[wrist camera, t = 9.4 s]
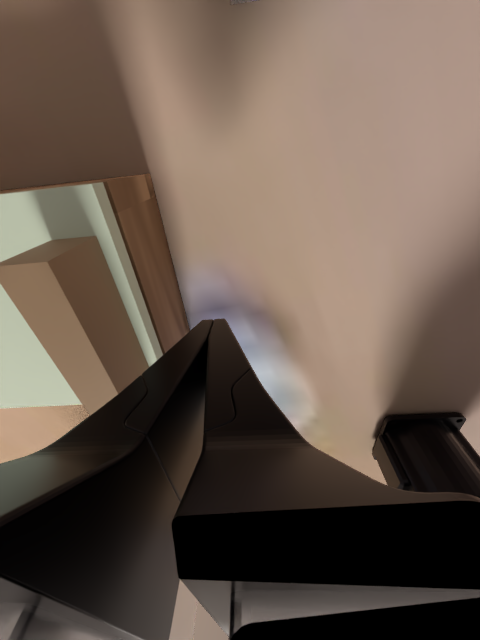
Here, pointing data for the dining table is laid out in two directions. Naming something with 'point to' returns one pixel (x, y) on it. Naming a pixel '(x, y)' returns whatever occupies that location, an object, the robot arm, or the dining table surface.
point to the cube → (240, 1)
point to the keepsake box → (144, 251)
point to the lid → (68, 301)
